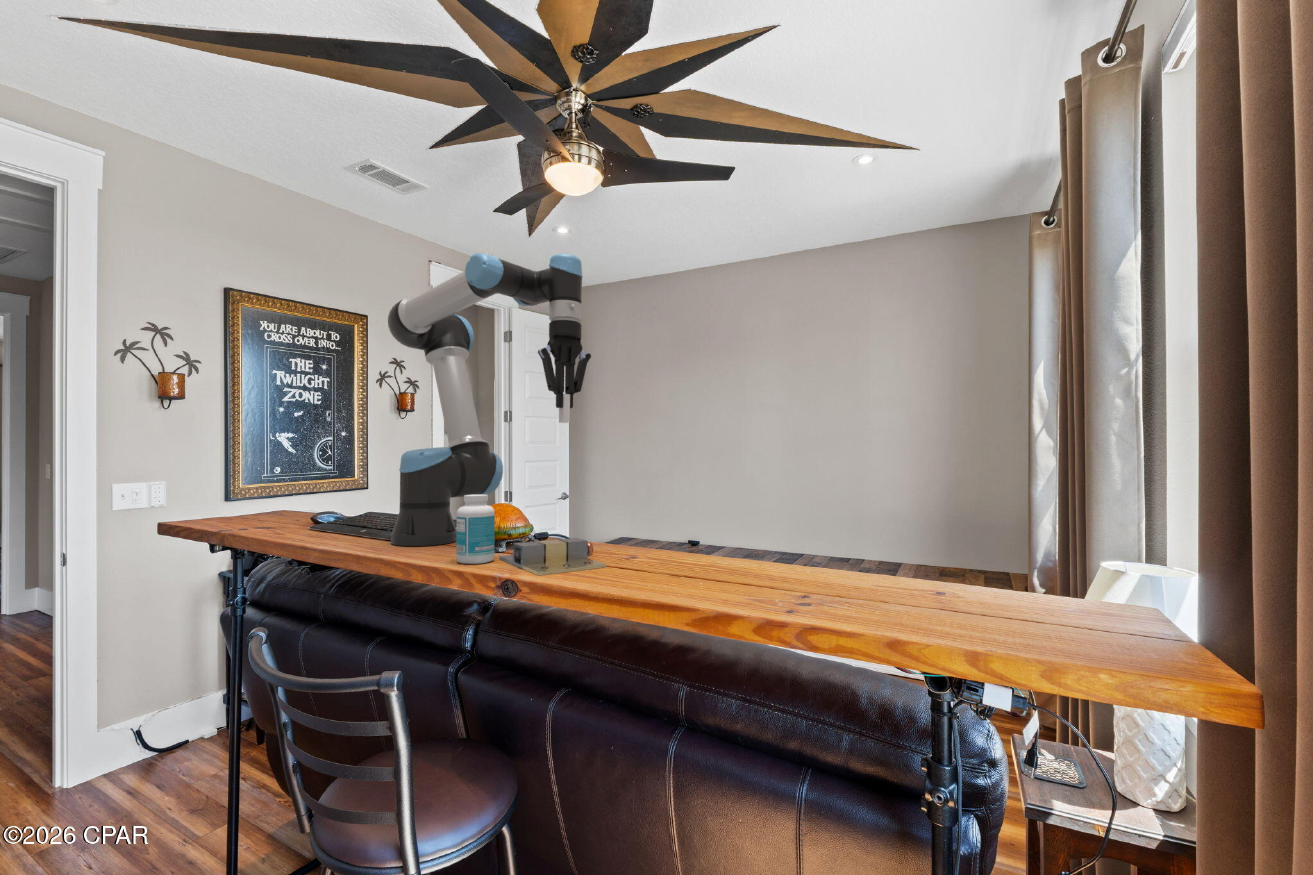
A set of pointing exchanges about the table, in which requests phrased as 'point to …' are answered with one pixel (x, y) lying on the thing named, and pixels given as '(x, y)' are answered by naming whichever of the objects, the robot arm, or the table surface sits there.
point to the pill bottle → (475, 531)
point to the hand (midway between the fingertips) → (564, 422)
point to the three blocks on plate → (552, 556)
